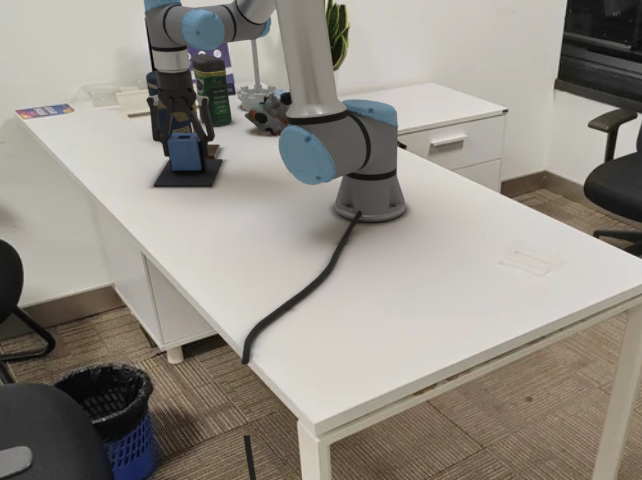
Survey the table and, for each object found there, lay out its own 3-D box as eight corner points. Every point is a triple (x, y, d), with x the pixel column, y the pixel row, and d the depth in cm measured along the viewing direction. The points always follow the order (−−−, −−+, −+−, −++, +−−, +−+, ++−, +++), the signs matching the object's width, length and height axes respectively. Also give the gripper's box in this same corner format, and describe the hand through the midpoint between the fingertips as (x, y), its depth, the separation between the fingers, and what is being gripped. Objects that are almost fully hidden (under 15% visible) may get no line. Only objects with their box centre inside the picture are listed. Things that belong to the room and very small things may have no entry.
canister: (200, 136, 191) (190, 68, 181) (173, 144, 184) (161, 74, 174) (177, 130, 195) (165, 63, 185) (149, 137, 188) (136, 68, 178)
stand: (215, 160, 176) (206, 97, 167) (178, 159, 175) (168, 97, 166) (220, 148, 183) (212, 88, 174) (185, 148, 182) (175, 88, 173)
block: (200, 170, 163) (196, 141, 160) (172, 170, 163) (167, 141, 159) (204, 161, 169) (200, 133, 165) (177, 161, 168) (172, 132, 164)
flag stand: (232, 110, 214) (219, 3, 197) (248, 100, 225) (237, -2, 208) (272, 113, 212) (262, 6, 196) (286, 103, 223) (278, 1, 206)
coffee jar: (236, 123, 202) (228, 56, 192) (211, 128, 198) (201, 59, 188) (221, 116, 208) (213, 50, 198) (196, 120, 204) (186, 53, 194)
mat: (211, 186, 160) (211, 184, 160) (153, 187, 159) (153, 184, 158) (222, 161, 175) (222, 158, 175) (169, 161, 174) (169, 158, 173)
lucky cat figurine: (269, 119, 207) (289, 77, 200) (297, 142, 204) (318, 101, 198) (235, 115, 194) (255, 71, 187) (264, 140, 191) (286, 96, 185)
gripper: (220, 66, 158) (232, 164, 170) (132, 65, 156) (151, 164, 168) (215, 73, 151) (228, 174, 164) (123, 72, 149) (144, 175, 162)
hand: (189, 169), depth 166 cm, fingers closed on block, 6 cm apart
